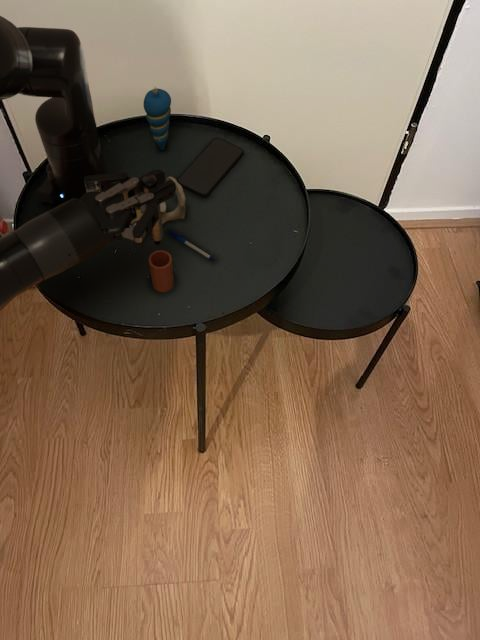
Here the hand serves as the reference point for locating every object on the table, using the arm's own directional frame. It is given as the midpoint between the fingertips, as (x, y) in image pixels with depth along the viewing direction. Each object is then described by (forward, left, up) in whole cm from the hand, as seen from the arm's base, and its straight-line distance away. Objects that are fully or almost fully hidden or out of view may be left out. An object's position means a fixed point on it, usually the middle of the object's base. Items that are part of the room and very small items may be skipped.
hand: (168, 180), depth 78 cm
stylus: (-2, -3, -11) cm, 12 cm away
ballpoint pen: (0, +7, -23) cm, 24 cm away
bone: (-7, +12, -23) cm, 27 cm away
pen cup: (-2, -2, -23) cm, 23 cm away
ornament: (-13, +29, -23) cm, 39 cm away
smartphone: (-2, +27, -23) cm, 35 cm away
